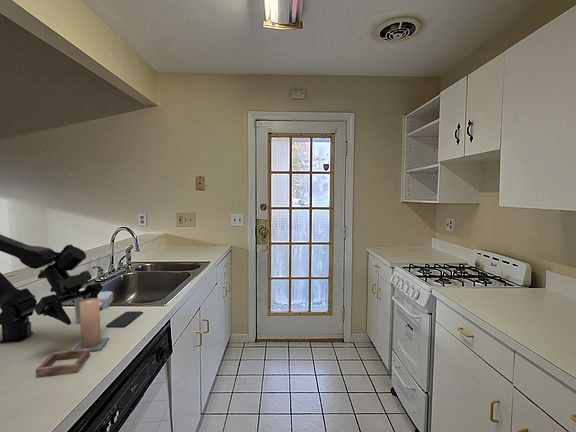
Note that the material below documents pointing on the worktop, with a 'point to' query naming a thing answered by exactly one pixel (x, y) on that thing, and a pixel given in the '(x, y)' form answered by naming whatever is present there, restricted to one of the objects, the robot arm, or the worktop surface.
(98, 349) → the mat
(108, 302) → the charger
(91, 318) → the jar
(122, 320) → the phone
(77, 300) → the skincare box
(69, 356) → the holder
